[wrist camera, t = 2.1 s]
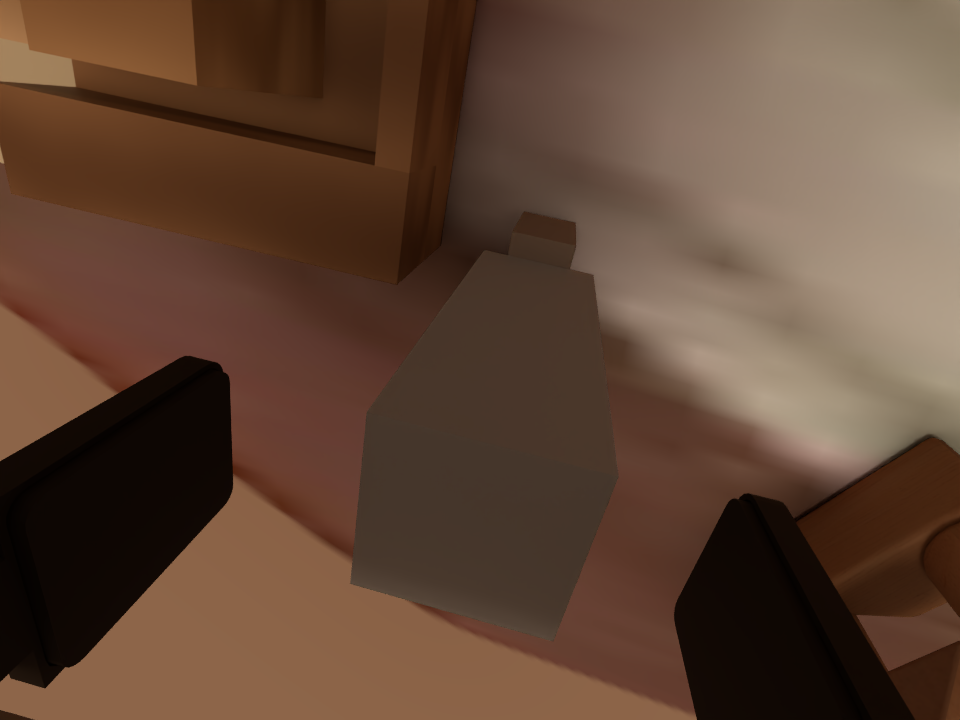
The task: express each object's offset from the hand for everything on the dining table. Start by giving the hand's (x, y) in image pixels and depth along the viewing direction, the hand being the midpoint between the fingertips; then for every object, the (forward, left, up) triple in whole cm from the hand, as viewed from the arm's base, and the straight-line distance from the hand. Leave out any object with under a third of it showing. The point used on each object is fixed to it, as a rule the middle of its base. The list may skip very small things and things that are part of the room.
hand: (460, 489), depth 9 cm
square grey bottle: (-1, 0, -12) cm, 12 cm away
